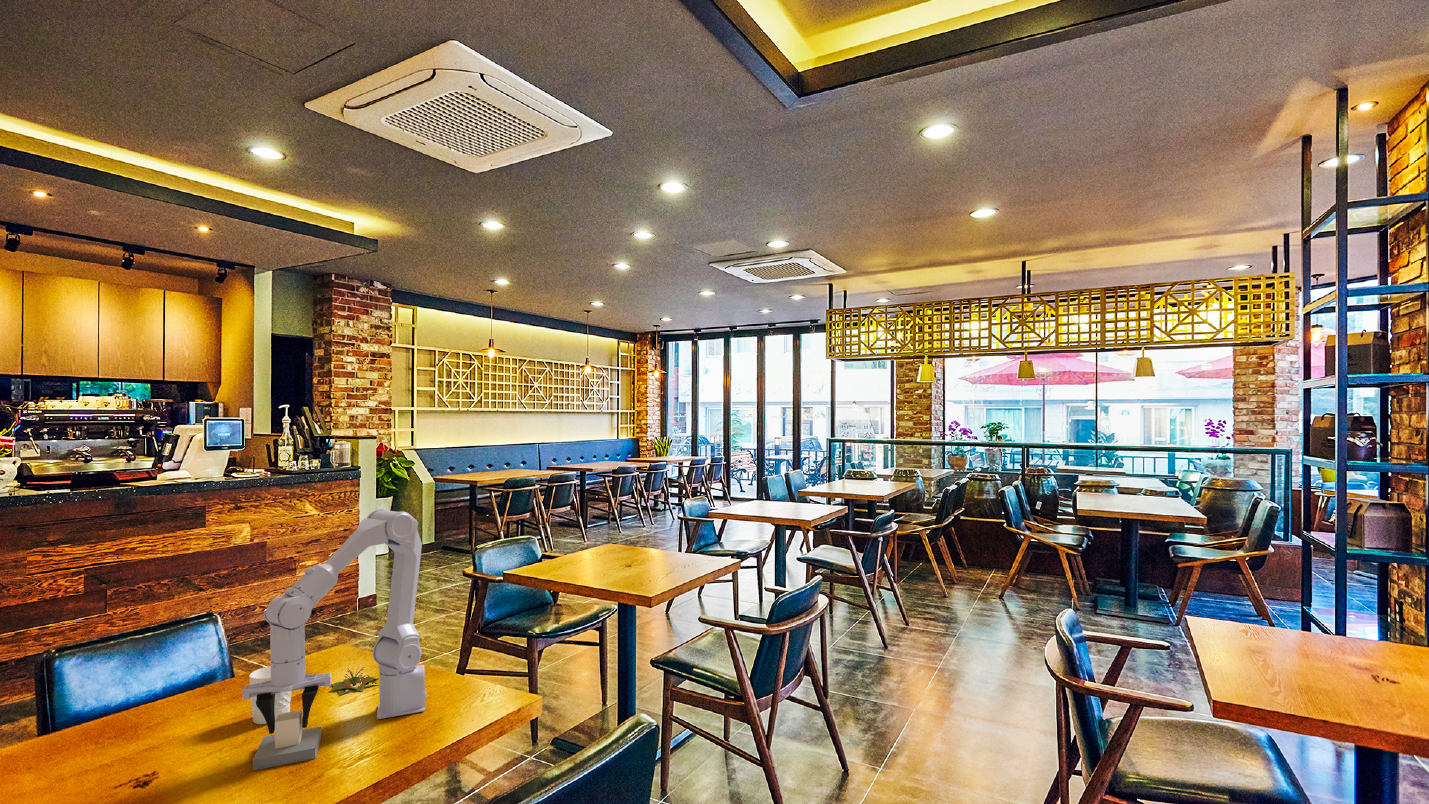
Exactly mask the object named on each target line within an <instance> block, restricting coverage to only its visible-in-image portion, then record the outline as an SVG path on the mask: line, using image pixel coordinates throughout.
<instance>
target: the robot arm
mask: <svg viewBox="0 0 1429 804" xmlns="http://www.w3.org/2000/svg"><path fill="white" fill-rule="evenodd" d="M418 525H419V521H418V520H417V519H416V518H414V516H412V515H411V514H410V513H408V512H407V511H394V510H386V509H382V508H381V509H380V508H378V509H376V510H373V511H371V512H370V513H369V514H368V516H367V517H365V518H364V519H363V520H361V521H360V522H359V524H358V527H357V528H356V529H355V530H354V531H353V533H351V535H350V536H349V537H348V538H347V539H346V540H345V541H344V542H342V545H340V546H339V548H338V549H337V550H336V551H334V553H333V554H332V555H331V556H330V557H329V558H328V559H327V560H326V561H325V562H324V563H318V564H315V565H313V566H308V567H307V568H306V569H305V570H304V571H303V573H304V574H303V575H302V576H301V577H300V578H299V579H298V580H297V581H296V582H295V583H294V584H293V585H292V586H291V587H287V588H286V589H285V590H284V594H280V595H278V596H275V597H274V598H273V599H272V600H271V601H270V602H269V603H268V605H267V608H266V610H265V611H264V612H263V617H264V620H265V621H266V622H267V623H268V624H269V626H270V629H269V633H270V637H269V640H270V641H269V642H270V644H269V645H270V652H269V653H270V666H271V680H270V681H266V682H262V683H258V684H253V685H250V684H249V685H248V684H247V685H245V686H244V687H243V688H242V700H243V701H244V700H249V699H251V697H256V696H257V700H256V705H257V707H258V708H259V710H260V711H261V713H262V714H263V716H264V718H265V721H266V723H267V724H266V726H267V728H268V734H269V735H271V734H272V735H274V734H275V712H274V707H275V693H281V692H288V691H291V692H293V691H299V690H301V691H302V690H303V691H302V693H301V701H302V702H301V703H302V729H307V728H308V723H309V716H310V711H311V708H312V706H313V703H314V700H315V699H316V696H317V694H318V692H319V688H320V687H324V688H327V687H331V686H332V685H331V684H332V673H331V672H329V673H316V674H314V673H313V674H306V633H305V632H306V630H305V629H306V628H305V625H306V624H305V623H307V622H309V619H310V618H311V615H312V610H313V608H314V607H315V606H316V605H317V603H319V602H320V601H321V600H322V599H323V598H324V597H325V596H326V595H327V594H328V593H329V591H331V590H333V588H334V587H335V586H336V585H337V583H338V581H339V579H338V578H339V574H340V573H341V572H342V571H344V569H345V568H347V567H348V566H349V565H350V564H351V563H352V562H354V561H355V560H356V559H357V558H358V557H360V555H362V553H364V551H366V550H367V549H368V548H369V547H373V546H378V545H383V544H386V546H388V547H389V548H390V550H392V551H393V553H394V557H393V564H392V572H391V582H390V589H389V599H388V606H387V616H386V624H385V625H383V627H382V628H381V629H380V630H379V632H378V637H377V640H376V642H375V643H374V646H373V649H372V659H373V661H375V662H376V663H377V664H378V669H379V670H378V677H379V679H378V680H379V681H378V684H379V685H378V686H379V692H378V693H379V696H378V697H379V703H378V704H377V712H376V720H381V719H382V720H383V719H386V718H387V719H388V718H393V717H394V718H395V717H398V716H404V715H411V714H416V713H421V712H425V711H426V700H427V689H426V685H425V681H426V680H425V677H426V676H425V675H426V674H425V672H426V671H425V665H424V664H423V665H422V664H420V665H419V663H420V661H421V657H422V647H421V645H420V634H419V632H418V630H417V629H416V627H415V626H414V619H415V611H416V610H415V609H416V601H417V593H418V582H419V573H420V567H421V565H420V564H421V558H422V557H421V556H422V549H423V548H422V547H423V543H422V540H421V537H420V534H419V531H418Z"/></svg>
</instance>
